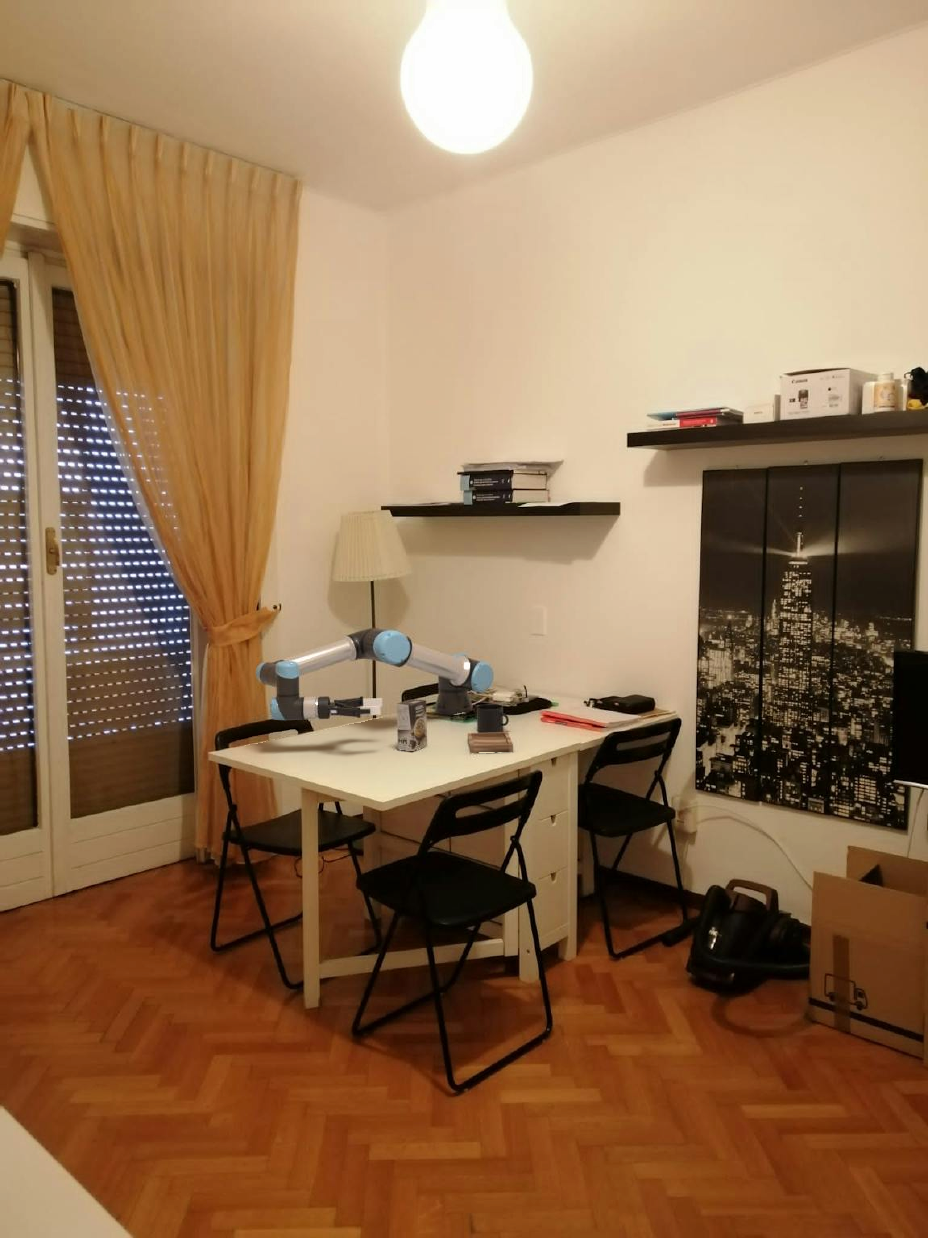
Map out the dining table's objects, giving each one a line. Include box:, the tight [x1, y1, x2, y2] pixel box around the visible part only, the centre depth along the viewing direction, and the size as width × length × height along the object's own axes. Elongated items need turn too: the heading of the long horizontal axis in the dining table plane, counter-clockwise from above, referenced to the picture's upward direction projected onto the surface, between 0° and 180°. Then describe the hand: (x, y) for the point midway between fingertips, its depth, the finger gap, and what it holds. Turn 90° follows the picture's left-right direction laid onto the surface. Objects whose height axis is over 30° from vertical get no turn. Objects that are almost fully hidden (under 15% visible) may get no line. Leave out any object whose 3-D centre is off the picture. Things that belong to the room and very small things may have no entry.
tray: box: [467, 731, 514, 754], centre depth 307 cm, size 18×14×3 cm
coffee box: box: [396, 698, 428, 752], centre depth 306 cm, size 9×6×16 cm
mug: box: [476, 703, 510, 733], centre depth 327 cm, size 9×12×9 cm
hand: (381, 706), depth 304 cm, fingers open, 13 cm apart
